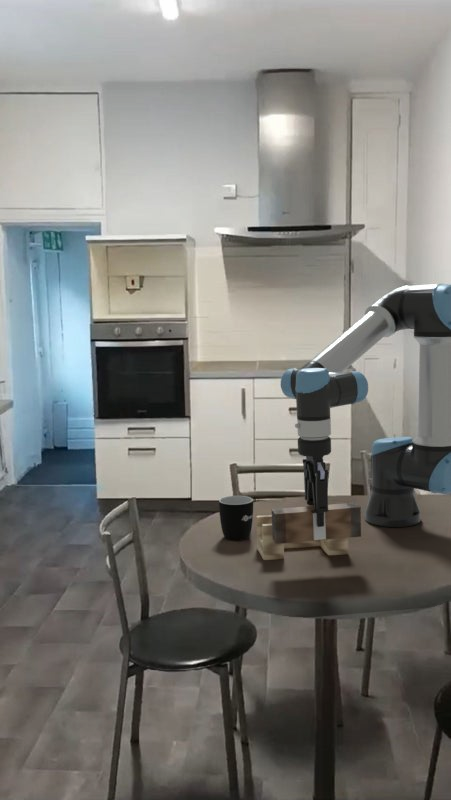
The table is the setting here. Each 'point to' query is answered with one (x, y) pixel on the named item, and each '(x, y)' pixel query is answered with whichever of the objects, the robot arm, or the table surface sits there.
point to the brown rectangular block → (299, 523)
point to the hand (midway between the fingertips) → (317, 535)
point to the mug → (236, 517)
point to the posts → (276, 551)
